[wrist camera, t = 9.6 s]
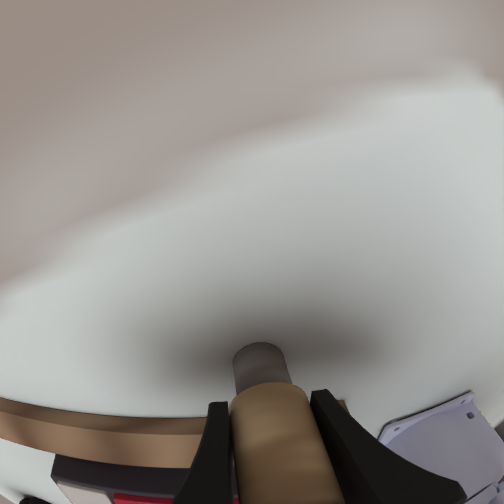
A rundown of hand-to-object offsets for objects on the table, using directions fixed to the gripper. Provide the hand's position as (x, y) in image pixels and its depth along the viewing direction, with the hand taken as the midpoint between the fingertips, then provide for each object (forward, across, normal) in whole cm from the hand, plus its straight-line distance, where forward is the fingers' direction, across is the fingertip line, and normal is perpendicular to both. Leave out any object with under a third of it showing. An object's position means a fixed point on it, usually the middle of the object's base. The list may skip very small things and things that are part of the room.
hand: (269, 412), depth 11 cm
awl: (+3, 0, 0) cm, 3 cm away
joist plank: (+3, +8, +6) cm, 10 cm away
